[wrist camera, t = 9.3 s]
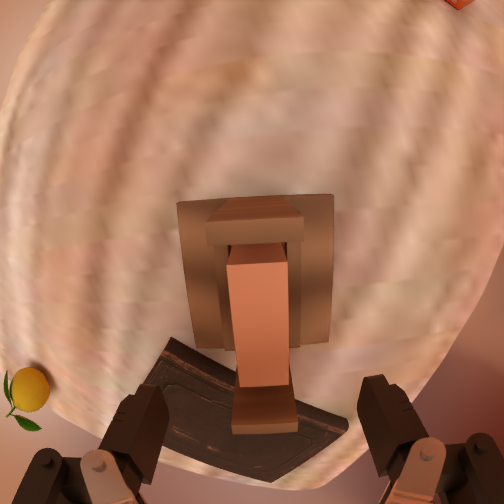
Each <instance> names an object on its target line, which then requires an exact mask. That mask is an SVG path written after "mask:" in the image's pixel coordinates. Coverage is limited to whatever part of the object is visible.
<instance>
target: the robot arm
mask: <svg viewBox="0 0 504 504" xmlns="http://www.w3.org/2000/svg"><path fill="white" fill-rule="evenodd" d="M357 413H358V417H359V420H360V423H361V425H362V428H363V431H364V434H365V437H366V440H367V443H368V446H369V448H370V451H371V454H372V457H373V460H374V463H375V466H376V469H377V473H378V476H379V477H382V476H385V475H388V476H389V479H390V481H389V483H388V485H387V487H386V489H385V491H384V493H383V495H382V497H381V499H380V501H379V503H378V504H435V503H434V502H433V501H432V500H433V496H434V493H437V492H438V494H439V497H440V500H441V503H442V504H504V458H503V456H502V454H501V452H500V451H499V449H498V447H497V445H496V443H495V441H494V440H493V438H492V437H491V436H489V435H487V434H485V433H476V434H473V435H471V436H470V437H469V438H468V440H467V441H466V442H465V443H460V444H451V445H444V444H443V443H442V442H441V441H439V440H437V439H435V438H430V437H429V435H428V433H427V432H426V430H425V428H424V426H423V424H422V422H421V420H420V418H419V417H418V415H417V413H416V411H415V410H414V409H413V406H412V404H411V402H409V399H408V397H407V395H406V393H405V392H404V390H402V389H401V388H400V387H399V386H397V385H396V384H392V385H389V383H388V382H387V380H386V378H385V376H384V375H383V374H380V375H374V376H369V377H364V379H363V382H362V386H361V390H360V394H359V398H358V403H357ZM168 424H169V410H168V407H167V404H166V401H165V399H164V396H163V393H162V390H161V387H160V386H159V385H150V384H140V385H139V387H138V389H137V391H136V393H135V395H130V394H129V395H128V396H127V397H126V398H125V399H124V400H123V401H121V403H120V405H119V407H118V409H117V411H116V413H115V415H114V417H113V421H111V423H110V425H109V427H108V429H107V431H106V433H105V435H104V438H103V440H102V442H101V444H100V446H99V448H98V449H96V450H92V451H89V452H87V453H86V454H85V455H84V456H83V457H82V458H71V457H62V456H61V455H60V454H59V452H57V451H56V450H54V449H51V448H44V449H41V450H39V451H38V452H37V453H36V454H35V455H34V457H33V459H32V461H31V463H30V465H29V467H28V469H27V471H26V473H25V476H24V477H23V479H22V481H21V484H20V486H19V488H18V490H17V493H16V495H15V497H14V499H13V502H12V504H147V503H146V501H145V499H144V497H143V495H142V494H141V492H140V490H139V489H140V486H141V483H144V484H149V485H151V483H152V479H153V475H154V471H155V468H156V464H157V461H158V458H159V454H160V451H161V447H162V444H163V441H164V437H165V434H166V431H167V427H168Z"/></svg>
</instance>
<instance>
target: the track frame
mask: <svg viewBox="0 0 504 504" xmlns="http://www.w3.org/2000/svg"><path fill="white" fill-rule="evenodd" d="M176 204H177V214H178V224H179V233H180V242H181V250H182V259H183V266H184V274H185V281H186V288H187V295H188V301H189V308H190V314H191V320H192V326H193V332H194V337H195V343H196V348H225V351H234V350H235V342H234V333H233V325H232V315H231V306H230V297H229V287H228V277H227V267H226V265H227V262H228V258H229V255H230V252H231V249H232V245H239V244H258V243H279V242H281V244H282V247H283V250H284V253H285V256H286V259H287V264H288V311H289V348H297V347H300V345H304V344H315V343H326V342H329V331H330V318H331V303H332V284H333V257H334V195H332V194H305V195H276V196H255V197H237V198H222V199H208V200H195V201H183V202H178V203H176ZM231 427H232V433H233V434H270V433H286V432H297V430H298V418H297V411H296V404H295V398H294V391H293V385H292V378H291V372H290V365H289V385H277V386H259V387H240V383H239V375H238V367H237V368H236V378H235V389H234V399H233V410H232V421H231Z"/></svg>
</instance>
